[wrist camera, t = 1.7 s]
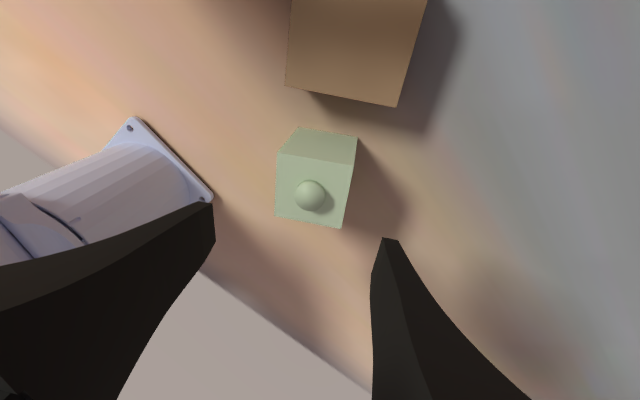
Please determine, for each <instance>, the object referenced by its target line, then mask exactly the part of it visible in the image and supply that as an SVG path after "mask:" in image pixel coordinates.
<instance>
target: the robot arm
mask: <svg viewBox="0 0 640 400" xmlns="http://www.w3.org/2000/svg"><path fill="white" fill-rule="evenodd" d="M131 126H132V127H133V129H132V128H131ZM202 197H203V198H204V199H205V200H203V199H202ZM213 198H214V194H213V193H212V191H211V190H210V189H209V188H208V187H207V186H206V185H205V184H204V183H203V182H202V181H201V180H200V179H199V178H198V177H197V176H196V175H195V174H194V173H193V172H192V171H191V170H190V169H189V168H188V167H187V166H186V165H185V164H184V163H183V162H182V161H181V160H180V159H179V158H178V157H177V156H176V155H175V154H174V153H173V152H172V151H171V150H170V149H169V148H168V147H167V146H166V145H165V144H164V143H163V142H162V141H161V140H160V139H159V138H158V136H157V135H156V134H155V133H154V132H153V131H152V130H151V129H150V128H149V127H148V126H147V125H146V124H145V123H144V122H143V121H142V120H141V119H140V118H138V117H136V116H133V117H130V118H128V119H127V121H126V122H125V123H124V124H123V125H122V127H121V128H120V129H119V130H118V131H117V133H116V134H115V135H114V136H113V137H112V139H111V140H110V141H109V142H108V143H107V145H106V146H105V147H104V148H103V150H102V151H100V152H98V153H95V154H93V155H91V156H88V157H86V158H83V159H81V160H78V161H76V162H73V163H71V164H68V165H66V166H63V167H61V168H59V169H56V170H54V171H51V172H49V173H46V174H44V175H41V176H39V177H36V178H34V179H31V180H29V181H27V182H24V183H22V184H19V185H17V186H14V187H12V188H9V189H7V190H5V191H2V192H0V400H117V398H118V396H119V394H120V392H121V390H122V388H123V386H124V384H125V383H126V381H127V379H128V377H129V375H130V373H131V372H132V369H133V368H134V366H135V364H136V362H137V361H138V359H139V357H140V355H141V354H142V352H143V350H144V348H145V347H146V345H147V343H148V342H149V340H150V338H151V336H152V335H153V333H154V332H155V330H156V328H157V327H158V325H159V323H160V322H161V320H162V319H163V317H164V315H165V314H166V312H167V311H168V310H169V308H170V307H171V305H172V304H173V303H174V301H175V300H176V299H177V297H178V296H179V295H180V293H181V292H182V291H183V289H184V288H185V287H186V285H187V284H188V283H189V282H190V280H191V279H192V277H193V276H194V275H195V274H196V272H197V271H198V270H199V268H200V267H201V266H202V264H203V263H204V261H205V260H206V258H207V256H208V255H209V253H210V251H211V249H212V247H213V246H214V244H215V242H216V238H215V227H214V217H213V206H212V203H209V202H210V201H211V200H212V199H213ZM370 310H371V327H372V343H373V383H372V400H531V399H530V398H529V397H528V396H527V395H525V394H524V393H523V392H522V391H521V390H520V389H519V388H517V387H516V386H515V385H514V384H513V383H512V382H511V381H510V380H509V379H508V378H507V377H505V376H504V375H503V374H502V373H501V372H500V371H499V370H498V369H497V368H496V367H495V366H494V365H493V364H492V363H491V362H490V361H489V360H488V359H487V358H485V357H484V356H483V355H482V354H481V352H480V351H479V350H478V349H477V348H476V347H475V346H474V345H473V344H472V343H471V342H470V341H469V340H468V339H467V338H466V337H465V336H464V335H463V333H462V332H461V331H460V330H459V329H458V328H457V327H456V325H455V324H454V323H453V322H452V321H451V320H450V318H449V317H448V316H447V315H446V314H445V312H444V311H443V310H442V309H441V307H440V306H439V305H438V303H437V302H436V301H435V299H434V298H433V296H432V295H431V294H430V292H429V291H428V289H427V288H426V286H425V285H424V283H423V282H422V280H421V279H420V277H419V276H418V274H417V272H416V271H415V269H414V267H413V266H412V264H411V262H410V261H409V259H408V257H407V255H406V254H405V252H404V250H403V248H402V247H401V245H400V243H399V241H398V240H394V239H389V238H384V237H382V240H381V244H380V247H379V250H378V253H377V257H376V260H375V263H374V266H373V270H372V273H371V284H370Z"/></svg>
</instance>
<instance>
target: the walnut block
mask: <svg viewBox="0 0 640 400" xmlns="http://www.w3.org/2000/svg"><path fill="white" fill-rule="evenodd" d="M427 1H428V0H292V3H291V15H290V27H289V39H288V51H287V62H286V74H285V86H288V87H293V88H298V89H303V90H308V91H313V92H318V93H324V94H329V95H334V96H339V97H344V98H349V99H354V100H359V101H364V102H369V103H374V104H379V105H384V106H389V107H394V108H396V106H397V103H398V100H399V96H400V93H401V89H402V86H403V83H404V79H405V76H406V72H407V69H408V66H409V62H410V59H411V55H412V52H413V49H414V45H415V42H416V38H417V35H418V32H419V28H420V25H421V21H422V18H423V15H424V11H425V8H426V4H427Z"/></svg>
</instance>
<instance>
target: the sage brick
mask: <svg viewBox="0 0 640 400" xmlns="http://www.w3.org/2000/svg"><path fill="white" fill-rule="evenodd" d="M357 138H358V137H355V136H349V135H343V134H337V133H331V132H325V131H319V130H314V129H308V128H302V127H298V128H297V129H296V131H295V132H294V133H293V134H292V135H291V137H290V138H289V139H288V140H287V141H286V143H285V144H284V145H283V146H282V147H281V148H280V150H279V151H278V152H277V167H276V189H275V211H274V216H277V217H282V218H287V219H292V220H297V221H302V222H307V223H313V224H318V225H323V226H328V227H333V228H338V229H341V227H342V222H343V217H344V212H345V207H346V202H347V197H348V192H349V188H350V183H351V178H352V173H353V168H354V161H355V154H356V146H357Z"/></svg>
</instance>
